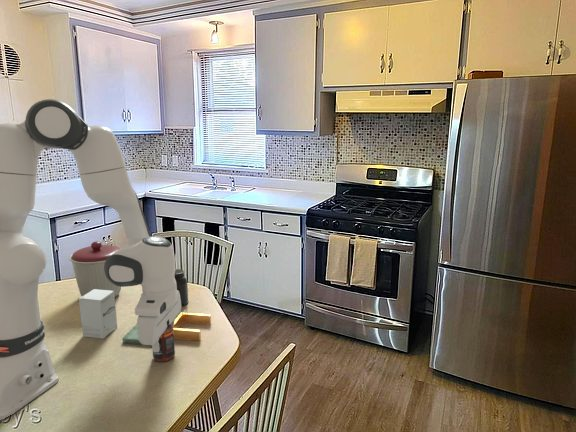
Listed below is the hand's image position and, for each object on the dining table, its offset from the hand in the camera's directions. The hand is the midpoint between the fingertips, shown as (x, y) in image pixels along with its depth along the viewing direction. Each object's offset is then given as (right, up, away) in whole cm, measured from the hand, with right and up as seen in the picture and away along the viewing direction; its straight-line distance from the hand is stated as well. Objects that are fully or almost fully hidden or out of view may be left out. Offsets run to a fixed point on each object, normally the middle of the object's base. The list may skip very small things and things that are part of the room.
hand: (163, 341), depth 117 cm
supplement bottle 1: (0, -5, +1) cm, 5 cm away
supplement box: (-23, -1, +13) cm, 27 cm away
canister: (-34, +5, +38) cm, 52 cm away
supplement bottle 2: (-5, +4, +34) cm, 34 cm away
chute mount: (-2, -1, +16) cm, 16 cm away
